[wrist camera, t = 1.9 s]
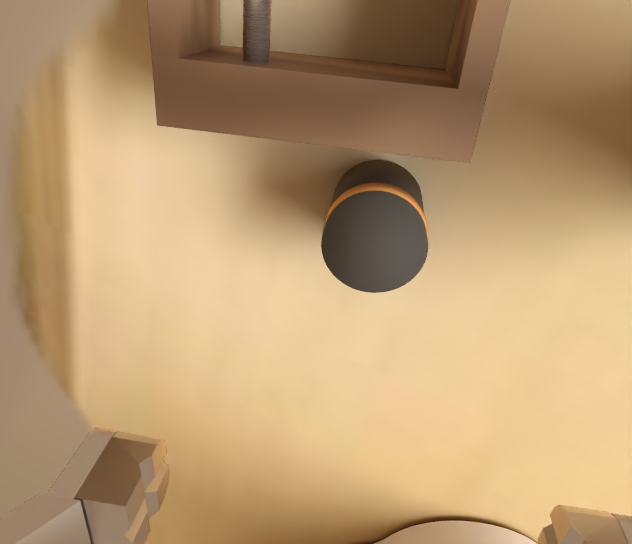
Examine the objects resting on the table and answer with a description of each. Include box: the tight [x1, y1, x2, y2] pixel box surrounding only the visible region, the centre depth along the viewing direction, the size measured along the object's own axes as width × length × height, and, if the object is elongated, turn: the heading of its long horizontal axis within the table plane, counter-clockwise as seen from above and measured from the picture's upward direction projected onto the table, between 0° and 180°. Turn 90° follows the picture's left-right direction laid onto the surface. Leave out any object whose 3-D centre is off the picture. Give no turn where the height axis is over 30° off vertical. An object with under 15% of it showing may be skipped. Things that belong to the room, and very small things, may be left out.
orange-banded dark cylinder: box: [321, 160, 428, 293], centre depth 23 cm, size 4×4×5 cm
